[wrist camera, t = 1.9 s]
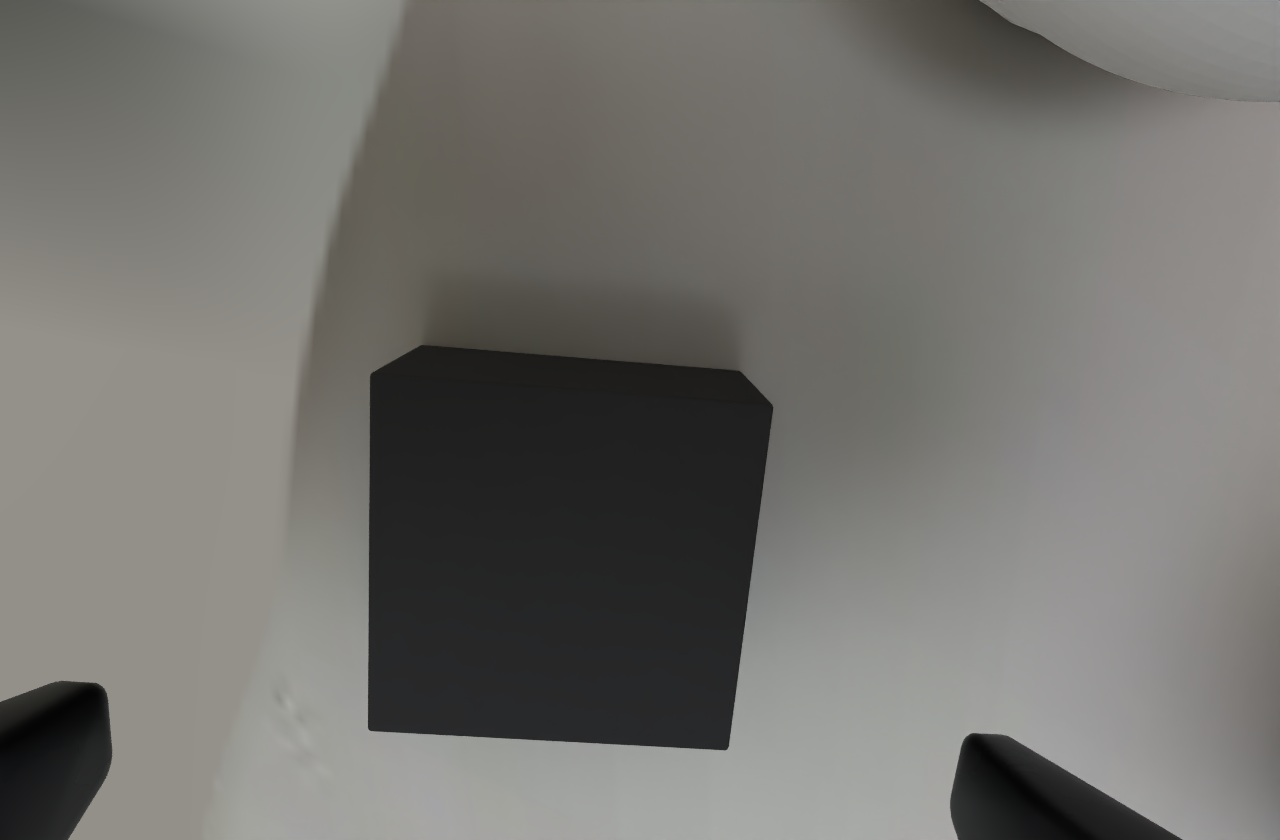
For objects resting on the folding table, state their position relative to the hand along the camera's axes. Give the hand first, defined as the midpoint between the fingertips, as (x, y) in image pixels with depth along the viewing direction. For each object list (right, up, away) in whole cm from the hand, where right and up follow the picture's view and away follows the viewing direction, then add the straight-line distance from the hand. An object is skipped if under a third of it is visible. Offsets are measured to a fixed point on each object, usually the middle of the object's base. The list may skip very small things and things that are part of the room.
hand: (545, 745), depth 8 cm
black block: (0, +2, +7) cm, 7 cm away
